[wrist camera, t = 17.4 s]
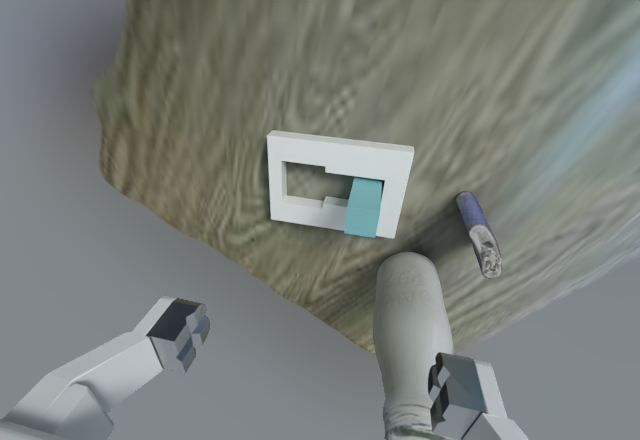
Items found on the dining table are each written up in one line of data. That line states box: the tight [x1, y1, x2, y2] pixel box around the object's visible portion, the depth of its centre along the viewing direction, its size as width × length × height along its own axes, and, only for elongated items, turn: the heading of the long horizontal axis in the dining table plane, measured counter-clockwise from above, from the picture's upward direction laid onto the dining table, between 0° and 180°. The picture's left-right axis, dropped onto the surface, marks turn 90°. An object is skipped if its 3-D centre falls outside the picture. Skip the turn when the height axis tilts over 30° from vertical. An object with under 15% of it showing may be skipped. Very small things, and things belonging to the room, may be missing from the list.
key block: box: [344, 176, 382, 238], centre depth 41 cm, size 4×4×10 cm
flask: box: [456, 191, 502, 279], centre depth 40 cm, size 9×3×11 cm, turn 29°
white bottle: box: [373, 252, 456, 440], centre depth 40 cm, size 10×10×28 cm
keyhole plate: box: [267, 130, 414, 239], centre depth 45 cm, size 20×14×2 cm
